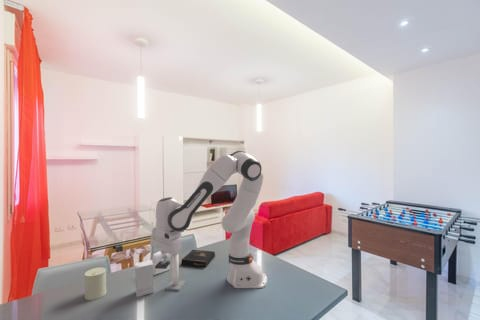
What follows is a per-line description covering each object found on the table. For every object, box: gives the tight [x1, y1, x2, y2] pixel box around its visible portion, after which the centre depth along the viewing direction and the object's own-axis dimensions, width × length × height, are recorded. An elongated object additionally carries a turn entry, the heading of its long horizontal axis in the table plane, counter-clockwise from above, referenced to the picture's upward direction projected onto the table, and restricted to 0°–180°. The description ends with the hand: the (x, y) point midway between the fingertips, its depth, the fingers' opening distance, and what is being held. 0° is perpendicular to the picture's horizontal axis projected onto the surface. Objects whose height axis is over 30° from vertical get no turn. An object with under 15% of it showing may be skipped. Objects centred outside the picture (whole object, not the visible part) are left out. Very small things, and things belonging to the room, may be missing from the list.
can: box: [84, 266, 108, 301], centre depth 112 cm, size 9×9×12 cm
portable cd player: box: [181, 249, 216, 269], centre depth 149 cm, size 16×17×4 cm
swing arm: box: [155, 254, 174, 269], centre depth 111 cm, size 21×5×2 cm, turn 176°
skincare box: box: [134, 259, 155, 298], centre depth 114 cm, size 8×6×15 cm
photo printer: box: [151, 250, 171, 276], centre depth 135 cm, size 10×4×12 cm, turn 134°
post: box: [164, 254, 187, 292], centre depth 119 cm, size 8×8×18 cm
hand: (164, 259), depth 110 cm, fingers closed
